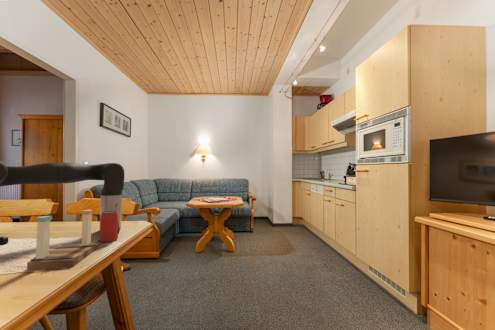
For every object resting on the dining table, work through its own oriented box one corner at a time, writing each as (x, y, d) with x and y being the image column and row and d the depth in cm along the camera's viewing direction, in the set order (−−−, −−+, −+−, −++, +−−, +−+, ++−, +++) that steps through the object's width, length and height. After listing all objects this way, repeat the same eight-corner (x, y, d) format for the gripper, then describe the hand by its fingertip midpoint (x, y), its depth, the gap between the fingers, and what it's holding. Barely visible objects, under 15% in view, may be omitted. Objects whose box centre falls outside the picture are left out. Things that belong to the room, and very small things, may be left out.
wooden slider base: (61, 250, 88) (61, 243, 88) (97, 248, 90) (98, 241, 90) (27, 269, 70) (27, 261, 70) (73, 266, 72) (73, 258, 72)
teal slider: (41, 255, 75) (43, 215, 75) (50, 254, 75) (52, 215, 75) (34, 259, 71) (35, 218, 71) (43, 258, 72) (44, 217, 72)
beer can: (109, 243, 97) (110, 213, 97) (95, 241, 98) (96, 212, 99) (121, 238, 103) (121, 210, 104) (108, 237, 105) (108, 210, 105)
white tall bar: (85, 243, 88) (86, 209, 88) (92, 242, 88) (93, 209, 89) (80, 246, 84) (81, 211, 85) (87, 245, 85) (88, 211, 85)
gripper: (-93, 236, 62) (-13, 233, 65) (-42, 225, 75) (22, 223, 78) (-95, 266, 61) (-14, 261, 65) (-43, 249, 74) (22, 246, 78)
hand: (6, 240), depth 71 cm, fingers closed
